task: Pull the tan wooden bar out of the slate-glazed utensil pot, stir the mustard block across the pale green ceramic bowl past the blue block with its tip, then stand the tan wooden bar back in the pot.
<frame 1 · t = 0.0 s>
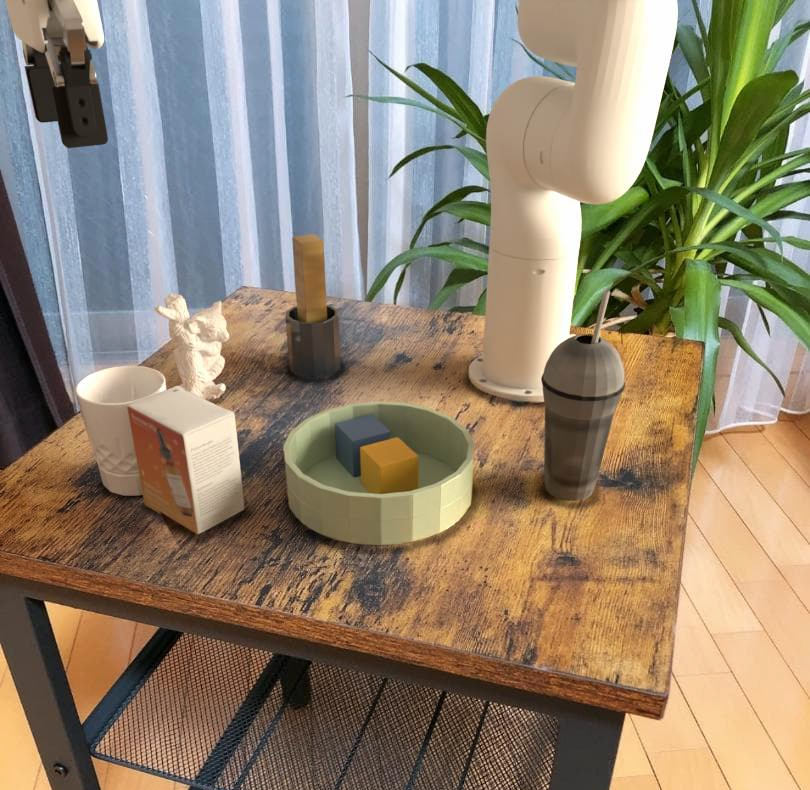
hand: (71, 132, 70), 31 cm above the table, tool pointing down, fingers open, 9 cm apart
small box: (195, 512, 84), on the table
tan wooden bar: (315, 365, 108), resting on utensil pot
utensil pot: (315, 369, 108), on the table
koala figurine: (201, 397, 103), on the table
beverage cup: (568, 494, 86), on the table
mustard block: (389, 488, 86), point 1 cm above the table, touching bowl
white cup: (139, 479, 88), on the table
bowl: (380, 496, 86), on the table
blue block: (363, 463, 89), point 1 cm above the table, touching bowl
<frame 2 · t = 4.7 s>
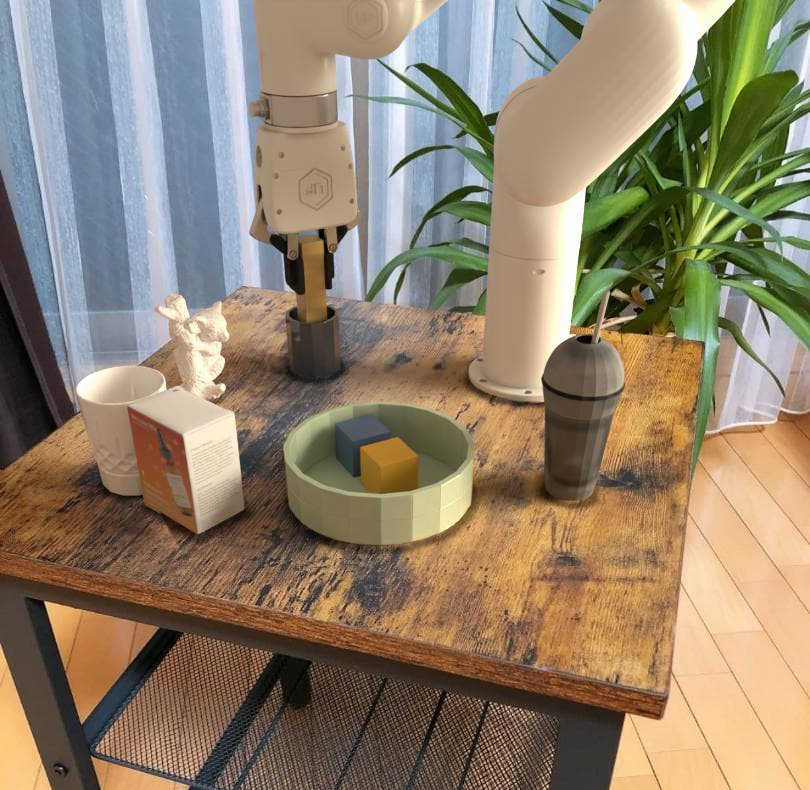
hand: (310, 287, 102), 10 cm above the table, tool pointing down, fingers closed on tan wooden bar, 2 cm apart
tan wooden bar: (315, 365, 108), point 1 cm above the table, touching gripper, utensil pot
everything else where it was.
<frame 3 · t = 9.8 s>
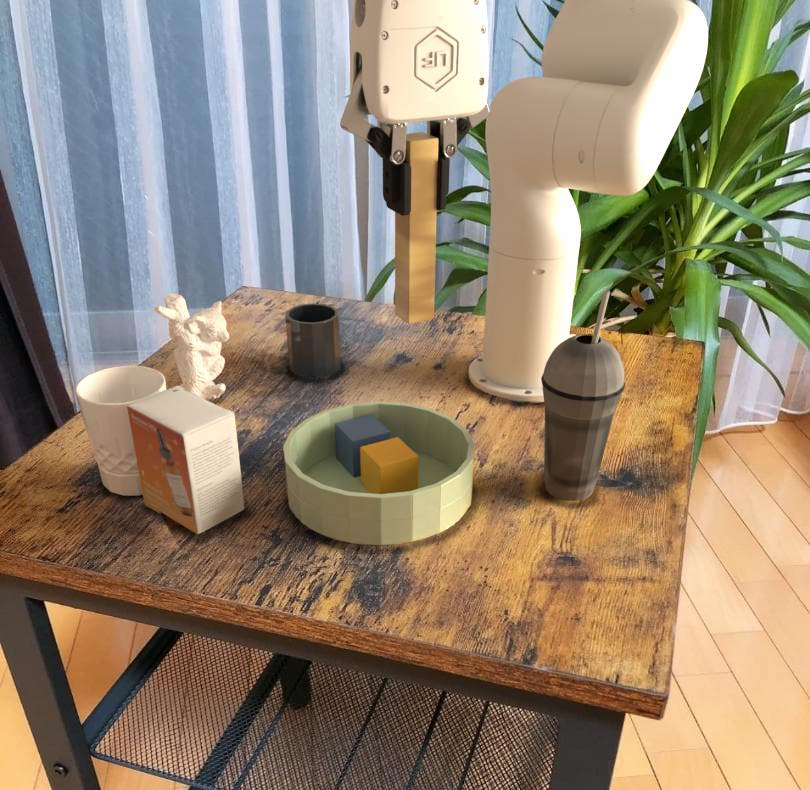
hand: (415, 206, 76), 25 cm above the table, tool pointing down, fingers closed on tan wooden bar, 2 cm apart
tan wooden bar: (414, 316, 81), point 15 cm above the table, touching gripper
everything else where it was.
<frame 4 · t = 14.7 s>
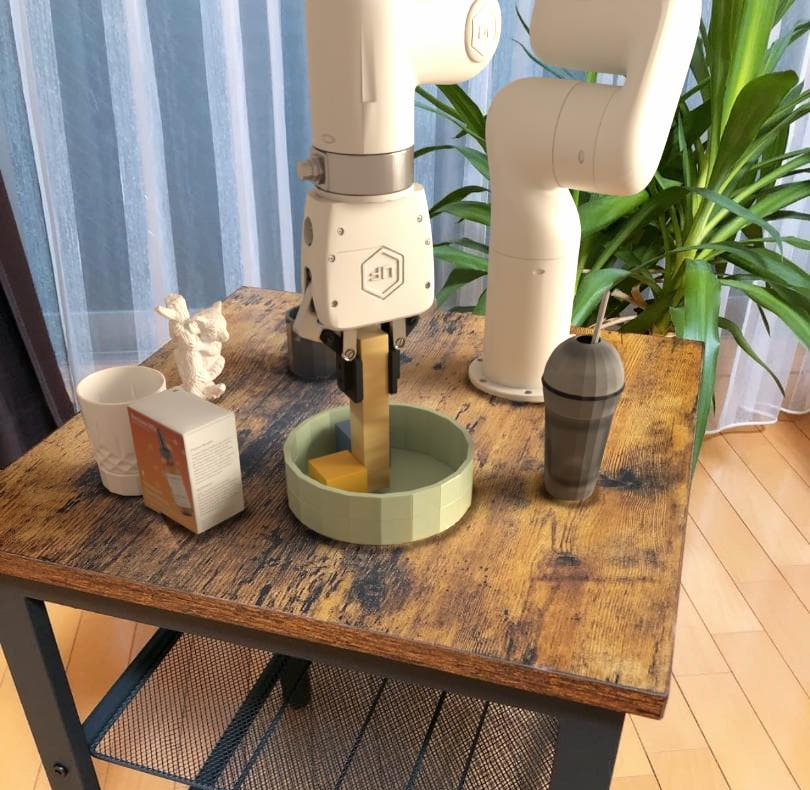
hand: (368, 390, 79), 11 cm above the table, tool pointing down, fingers closed on tan wooden bar, 2 cm apart
tan wooden bar: (371, 484, 84), point 2 cm above the table, touching gripper, mustard block
mustard block: (338, 502, 84), point 1 cm above the table, touching bowl, tan wooden bar
everything else where it was.
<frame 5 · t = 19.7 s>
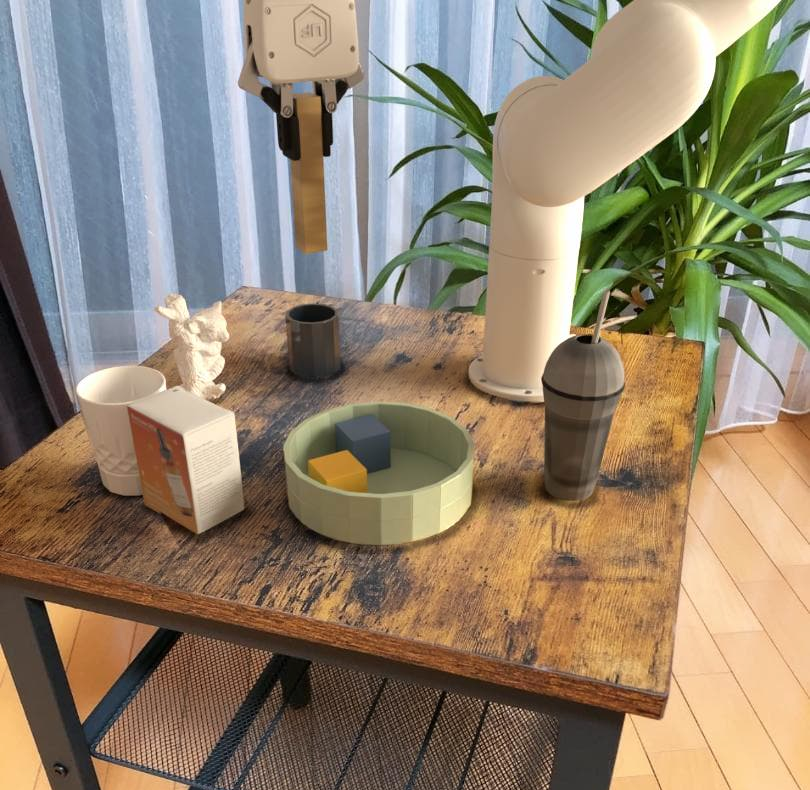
hand: (306, 154, 92), 25 cm above the table, tool pointing down, fingers closed on tan wooden bar, 2 cm apart
tan wooden bar: (311, 249, 97), point 15 cm above the table, touching gripper
mustard block: (338, 502, 84), point 1 cm above the table, touching bowl
everything else where it was.
when the fingers open (10 cm above the table, at t = 23.9 s): tan wooden bar stays where it is, resting on utensil pot.
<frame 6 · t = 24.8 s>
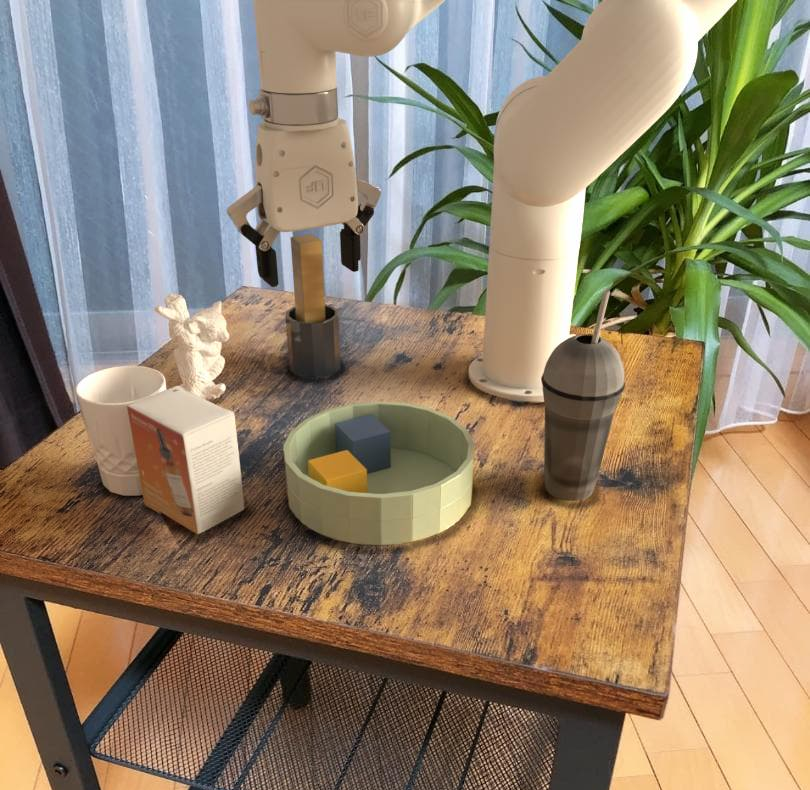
hand: (310, 275, 101), 11 cm above the table, tool pointing down, fingers open, 9 cm apart
tan wooden bar: (313, 365, 108), resting on utensil pot
everything else where it was.
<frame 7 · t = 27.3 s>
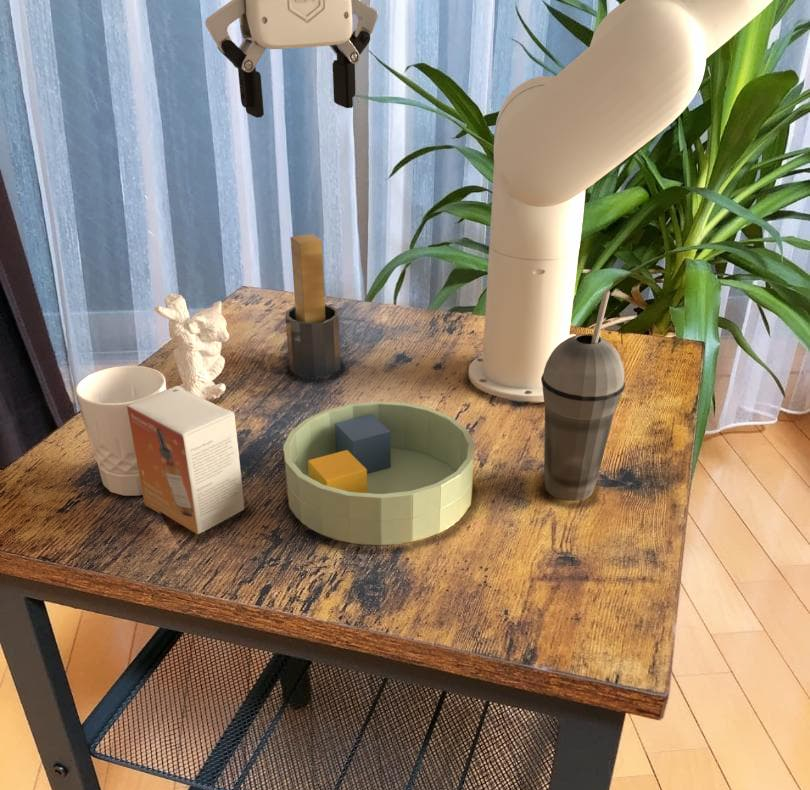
hand: (300, 110, 91), 28 cm above the table, tool pointing down, fingers open, 9 cm apart
nothing on the table moved.
at the end: mustard block moved 5.2 cm from its start; mustard block inside the target area in the bowl (4.2 cm from its centre), point 0.6 cm above the bowl's base; tan wooden bar 0.2 cm off-centre in the utensil pot, point 0.5 cm above the utensil pot's base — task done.
